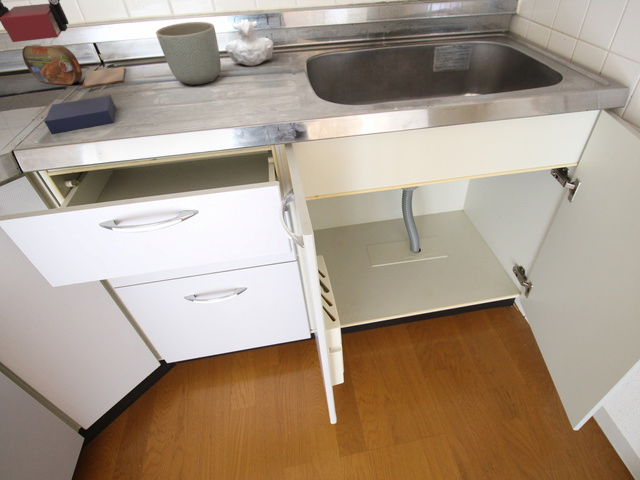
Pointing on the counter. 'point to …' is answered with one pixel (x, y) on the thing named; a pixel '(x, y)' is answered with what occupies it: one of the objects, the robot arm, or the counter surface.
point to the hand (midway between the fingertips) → (40, 31)
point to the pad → (104, 77)
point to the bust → (249, 45)
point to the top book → (30, 23)
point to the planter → (191, 51)
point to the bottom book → (80, 114)
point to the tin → (52, 64)
